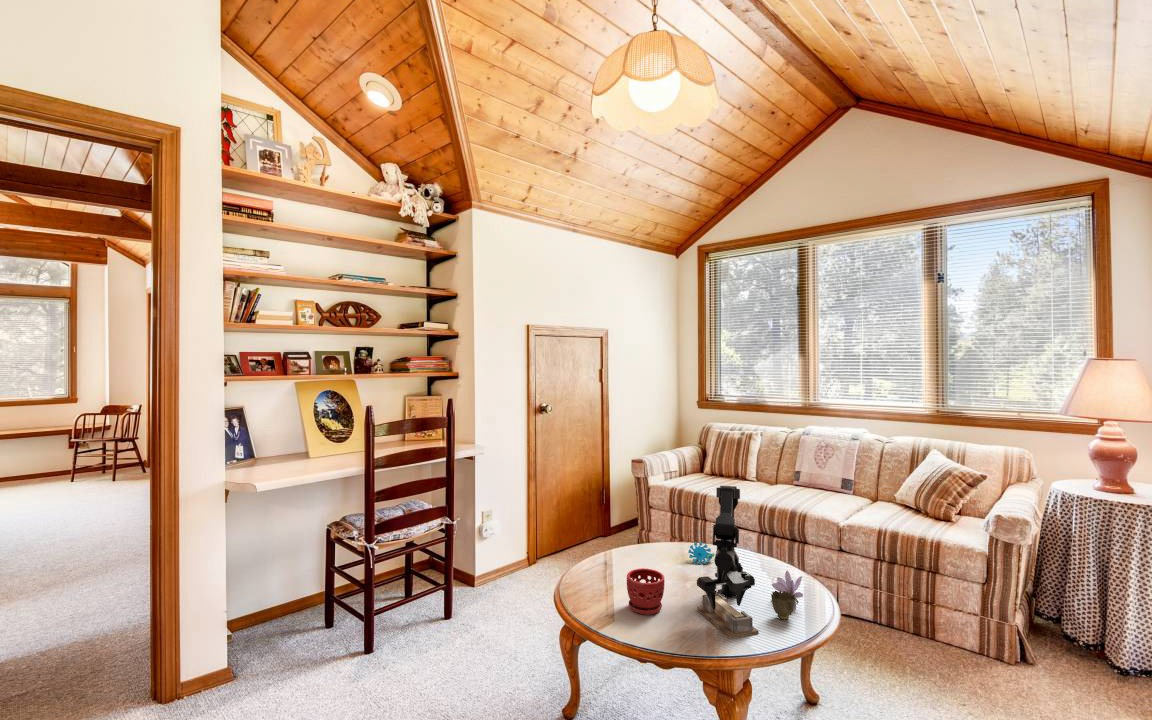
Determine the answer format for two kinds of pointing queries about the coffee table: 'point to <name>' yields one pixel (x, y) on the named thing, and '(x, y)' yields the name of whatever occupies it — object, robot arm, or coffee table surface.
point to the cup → (783, 604)
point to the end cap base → (728, 620)
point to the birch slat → (725, 609)
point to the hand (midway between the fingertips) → (726, 607)
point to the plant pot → (645, 591)
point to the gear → (700, 553)
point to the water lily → (789, 587)
